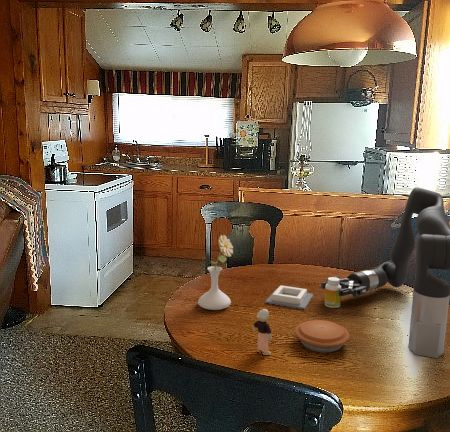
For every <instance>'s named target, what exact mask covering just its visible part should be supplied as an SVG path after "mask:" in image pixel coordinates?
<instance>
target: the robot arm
mask: <svg viewBox="0 0 450 432" xmlns="http://www.w3.org/2000/svg"><path fill="white" fill-rule="evenodd" d="M413 214H416V215H417V217H416V221H415V223H416V224H415V225H416V229H417V232H418V235H419V237H418V238H417V242H416V237H415V234H414V230H413V225H412V219H413ZM415 247H416V251H415ZM414 251H415V272H414V283H413V291H412V293H413V294H412V299H411V300H412V302H411V311H410V312H411V313H410V323H409V331H408V333H409V334H408V344H407V345H408V349H409V350H410V351H411V352H413V354H414V355H419V356H423V357H429V358H433V359H438V358H439V357H440V356H442V355H444V349H445V342H446V341H445V340H446V332H447V323H448V313H449V306H450V305H449V304H450V282H448V281H446V280H444V279H442V278H441V277H438V276H435V275H434V274H433V273H431V272H430V271H429V270H431V269H432V270H443V271H450V221H449V219H448V216H447V215H446V211H445V205H444V198H443V195H442V194H440V193H439V192H436V191H433V190H429V189H425V188H422V187H420V186H419V187H418V186H416V187H414V188H412V190H411V191H410V193H409V195H408V198H407V201H406V203H405V206H404V211H403V214H402V218H401V222H400V225H399V229H398V233H397V236H396V239H395V241H394V244H393V247H392V249H391V251H390V254H389V258H390V260H391V261H384V262H383V263H381V264H380V265H377V267H376V268H373V269H368V270H360V271H358V272H357V271H356V272H351V273H350V274H348V276H346V277H345V278H340V276H339V275H336V276H334V277H336V278H339V279H340V282H339V285H340V286H341V290H339V296H341V297H345V296H352V297H354V298H356V297H359V296H363V295H366V294H367V293H368V292H370V291H372V290H374V289H378V288H381V287H385V286H386V284H387V283H388V284H389V285H391V287H394V288H400V287H402V286H403V285H404V284H406V281H407V278H408V275H409V264H410V259H411V257H412V255H413V252H414ZM328 278H329V277H326V278H325V281H324V282H323V281H322V282H321V286H320V288H321V289H323V290H325V286H326V284H328ZM366 292H367V293H366Z"/></svg>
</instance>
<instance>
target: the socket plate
mask: <svg viewBox="0 0 450 432" xmlns="http://www.w3.org/2000/svg"><path fill="white" fill-rule="evenodd" d="M313 297H314V293H310V292H308V289H307V288H300V287H295V286H289V285H288V286H287V285H281V284H280V286H278V288H276V289H274V290H273V292H272V293H271V294H270V295H269V297H267V299H266V300H265V301H264V303H265V304H266V303H269V304H268V305H272V304H275V305H274V306H278V305H280V306H279V307H284V306H286V307H285V308H290V307H291V308H292V309H296V308H298V310H303V309H304V311H305V310H306V308H307V307H308V305H309V303H310V302H311V300H312V299H313ZM311 298H312V299H311ZM306 306H307V307H306ZM291 308H290V309H291Z"/></svg>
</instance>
